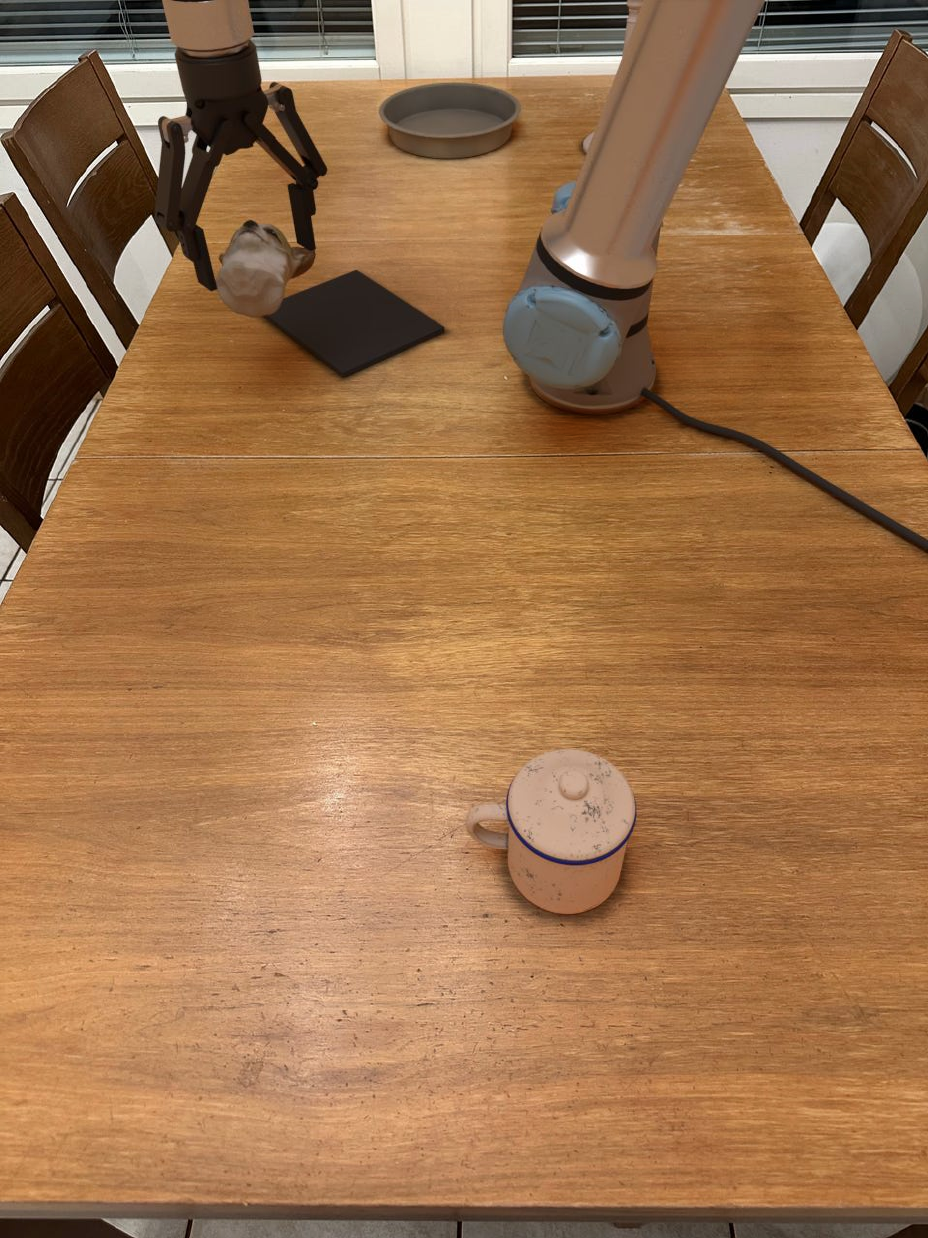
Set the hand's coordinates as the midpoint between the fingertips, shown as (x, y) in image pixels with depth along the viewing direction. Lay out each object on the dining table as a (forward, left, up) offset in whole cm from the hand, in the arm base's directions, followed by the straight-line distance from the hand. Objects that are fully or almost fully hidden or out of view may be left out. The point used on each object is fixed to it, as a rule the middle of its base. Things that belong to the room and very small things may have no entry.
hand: (258, 265), depth 103 cm
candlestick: (+23, -82, -16) cm, 87 cm away
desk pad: (+7, -15, -16) cm, 23 cm away
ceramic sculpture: (0, 0, -3) cm, 3 cm away
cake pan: (+47, -64, -16) cm, 81 cm away
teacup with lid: (-67, +18, -16) cm, 71 cm away
